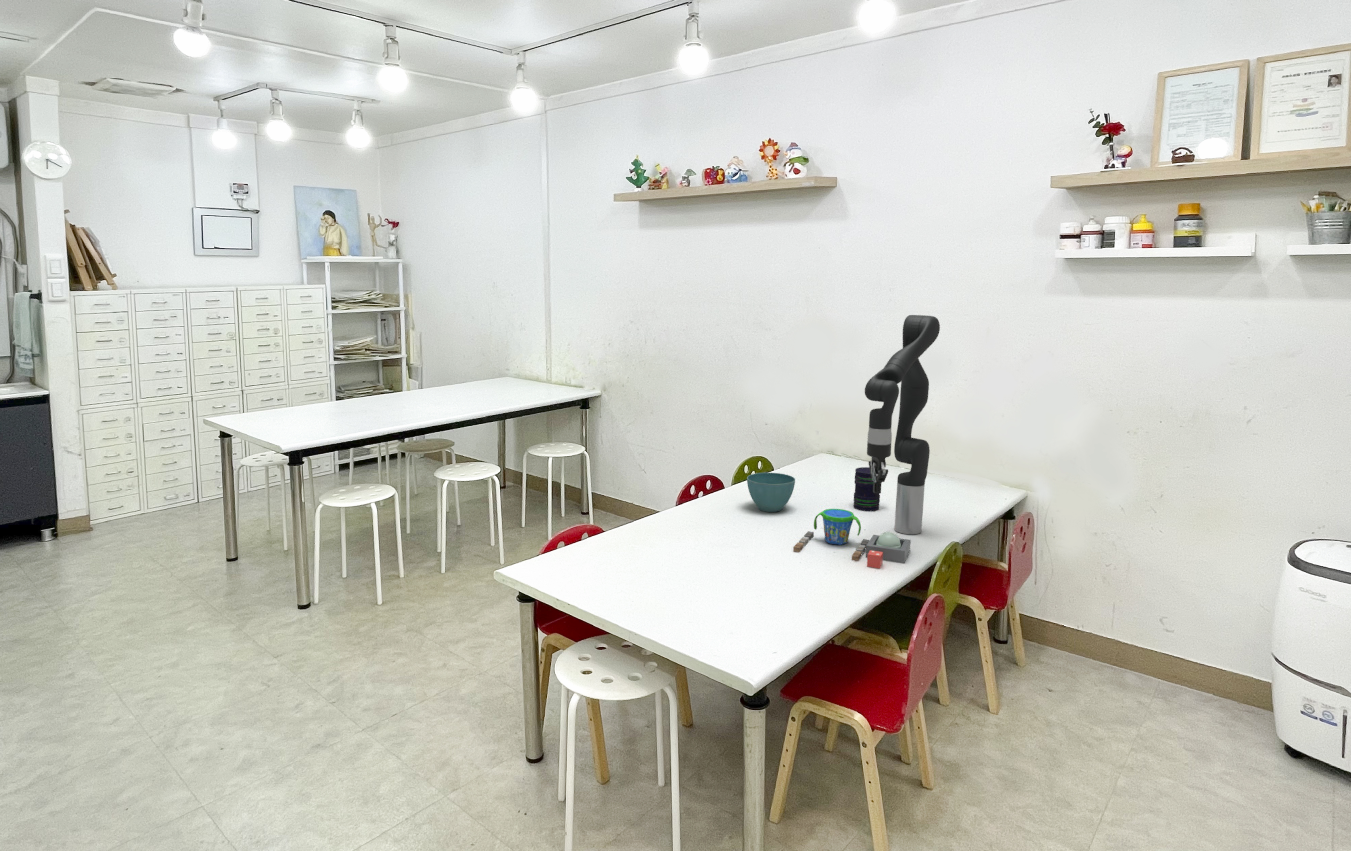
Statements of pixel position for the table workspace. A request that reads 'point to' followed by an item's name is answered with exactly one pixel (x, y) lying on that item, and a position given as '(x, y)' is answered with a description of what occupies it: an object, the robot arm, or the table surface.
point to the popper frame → (890, 550)
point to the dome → (889, 540)
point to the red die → (874, 559)
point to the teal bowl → (770, 490)
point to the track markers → (809, 535)
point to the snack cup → (837, 525)
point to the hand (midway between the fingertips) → (876, 493)
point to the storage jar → (865, 491)
